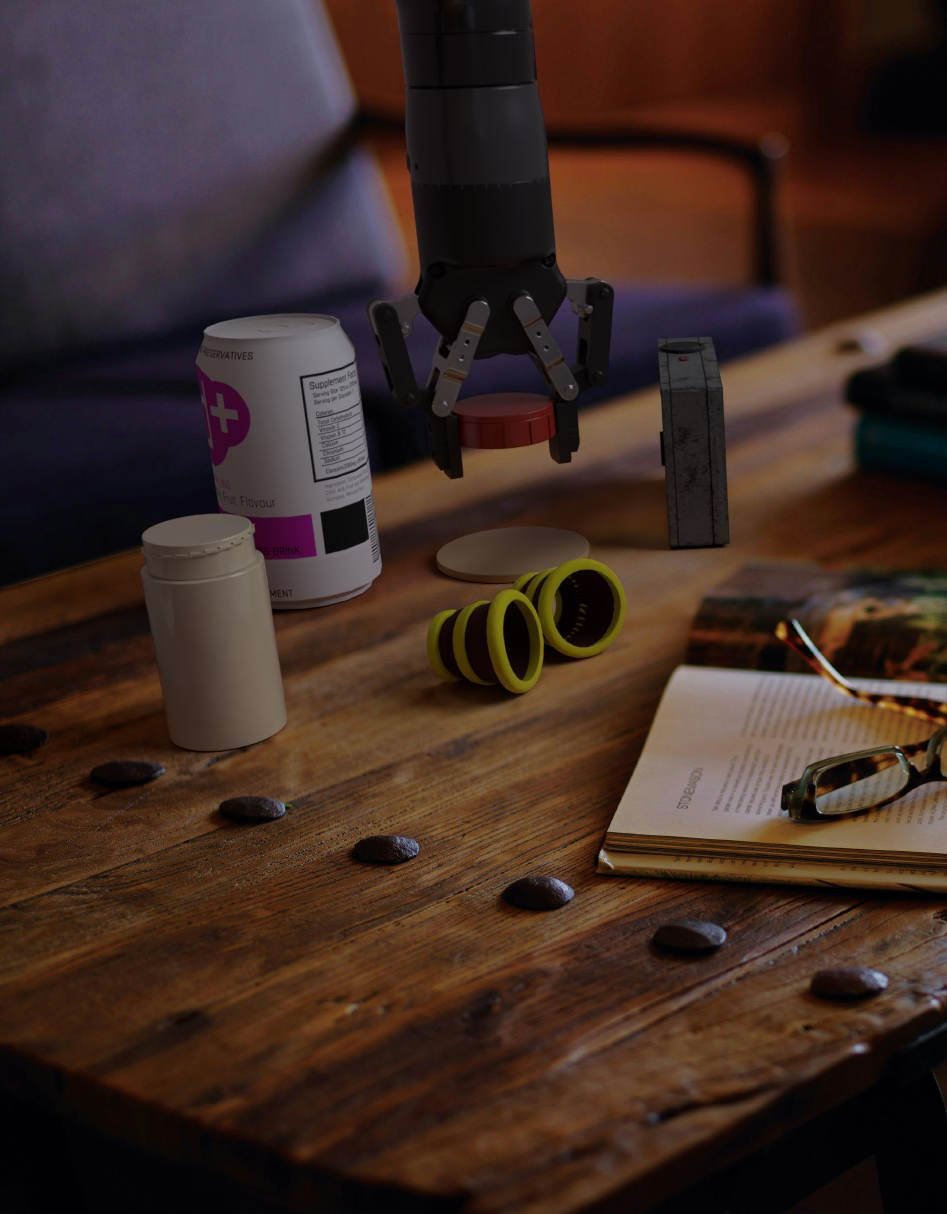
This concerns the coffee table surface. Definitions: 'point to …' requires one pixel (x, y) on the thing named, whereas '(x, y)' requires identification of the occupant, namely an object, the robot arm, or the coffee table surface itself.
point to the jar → (212, 632)
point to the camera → (693, 442)
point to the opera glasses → (529, 626)
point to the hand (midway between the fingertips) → (508, 467)
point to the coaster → (510, 553)
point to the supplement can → (293, 452)
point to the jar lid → (505, 420)
